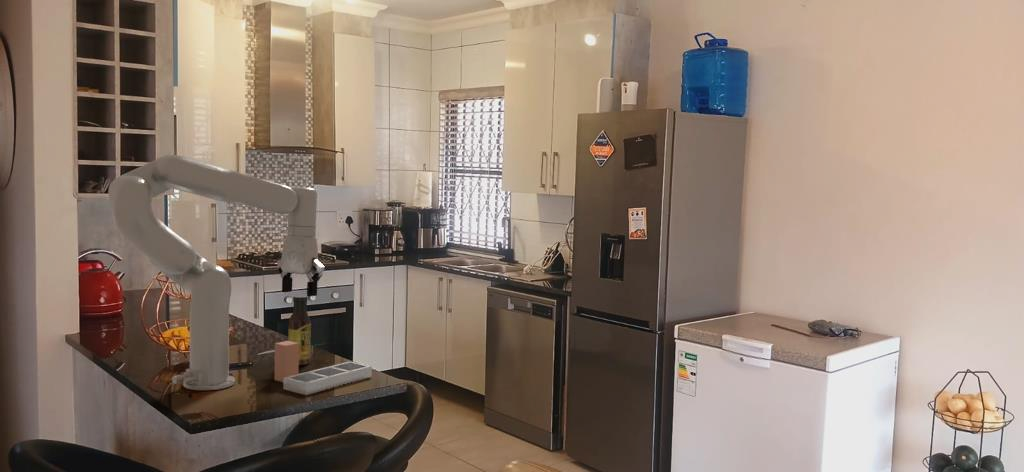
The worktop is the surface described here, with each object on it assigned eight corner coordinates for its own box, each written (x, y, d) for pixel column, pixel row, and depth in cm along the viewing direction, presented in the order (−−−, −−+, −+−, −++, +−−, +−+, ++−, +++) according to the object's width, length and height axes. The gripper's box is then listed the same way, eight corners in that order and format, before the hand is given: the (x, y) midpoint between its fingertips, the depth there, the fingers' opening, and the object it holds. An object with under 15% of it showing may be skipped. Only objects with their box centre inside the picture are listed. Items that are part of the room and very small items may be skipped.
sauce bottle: (303, 367, 227) (304, 298, 226) (283, 365, 229) (284, 297, 227) (314, 362, 234) (314, 295, 232) (294, 360, 235) (295, 294, 234)
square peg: (285, 382, 211) (285, 345, 210) (274, 380, 213) (274, 343, 212) (298, 379, 214) (298, 343, 213) (287, 376, 217) (287, 340, 216)
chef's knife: (249, 355, 242) (254, 356, 240) (249, 351, 242) (254, 352, 240) (303, 346, 256) (309, 347, 254) (303, 342, 256) (308, 343, 254)
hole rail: (306, 395, 200) (306, 383, 199) (283, 389, 204) (283, 377, 204) (371, 376, 219) (371, 366, 219) (349, 371, 224) (349, 361, 224)
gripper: (269, 230, 219) (267, 291, 220) (314, 234, 210) (311, 298, 211) (289, 229, 226) (287, 289, 227) (334, 234, 216) (331, 296, 218)
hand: (299, 293), depth 219 cm, fingers open, 9 cm apart
